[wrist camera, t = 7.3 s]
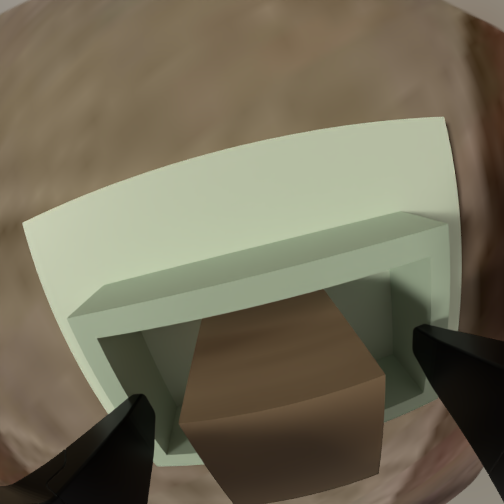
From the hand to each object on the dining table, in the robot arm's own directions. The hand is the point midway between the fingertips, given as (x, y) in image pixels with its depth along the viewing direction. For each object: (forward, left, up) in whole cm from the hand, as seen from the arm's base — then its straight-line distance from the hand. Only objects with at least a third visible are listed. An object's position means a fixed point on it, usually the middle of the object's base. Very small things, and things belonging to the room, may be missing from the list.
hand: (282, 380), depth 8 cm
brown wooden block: (0, 0, -3) cm, 3 cm away
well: (0, 0, -4) cm, 4 cm away
